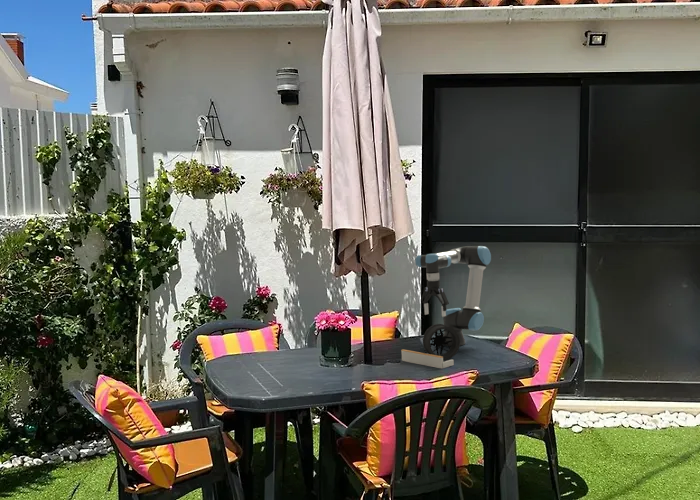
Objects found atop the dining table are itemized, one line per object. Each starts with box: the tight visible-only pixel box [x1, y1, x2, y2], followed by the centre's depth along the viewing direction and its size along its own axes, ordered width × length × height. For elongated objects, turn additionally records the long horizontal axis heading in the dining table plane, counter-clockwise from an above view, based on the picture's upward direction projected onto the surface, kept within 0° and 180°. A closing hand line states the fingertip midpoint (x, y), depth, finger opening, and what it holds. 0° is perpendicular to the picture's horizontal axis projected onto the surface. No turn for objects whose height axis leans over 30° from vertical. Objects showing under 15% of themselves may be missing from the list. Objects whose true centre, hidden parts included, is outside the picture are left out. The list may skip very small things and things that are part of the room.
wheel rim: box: [422, 323, 461, 361], centre depth 382 cm, size 20×9×20 cm, turn 104°
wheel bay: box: [400, 349, 455, 369], centre depth 374 cm, size 10×31×7 cm, turn 41°
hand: (435, 315), depth 384 cm, fingers open, 13 cm apart
